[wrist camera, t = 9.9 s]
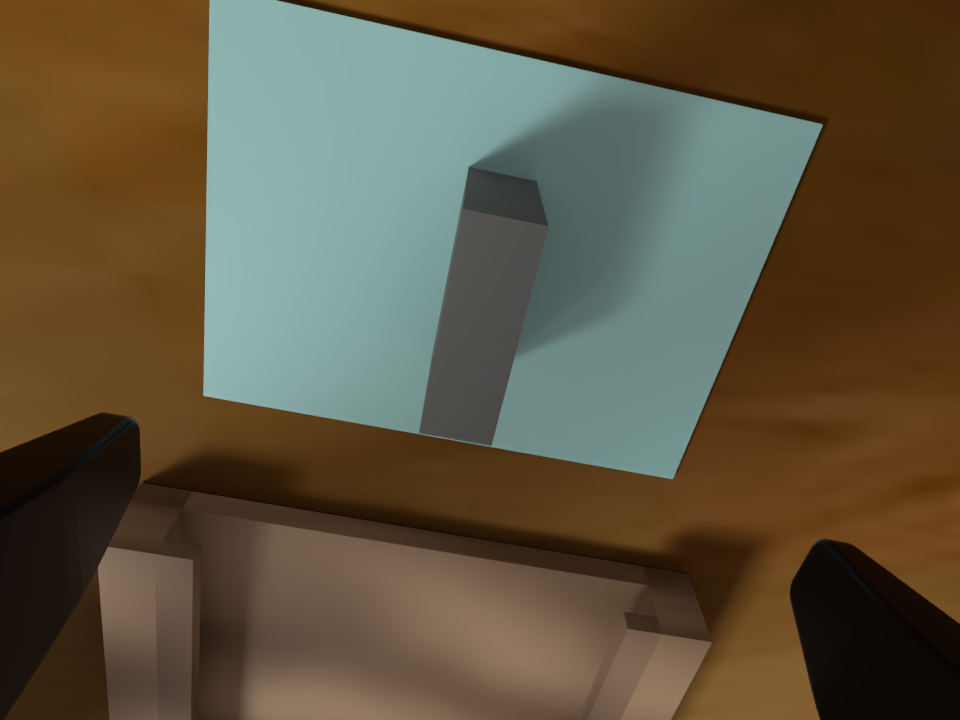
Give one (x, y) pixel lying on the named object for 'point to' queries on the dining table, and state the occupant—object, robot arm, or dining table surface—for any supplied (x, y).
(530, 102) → the cover plate
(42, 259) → the dining table surface
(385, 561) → the wooden tray
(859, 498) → the dining table surface
